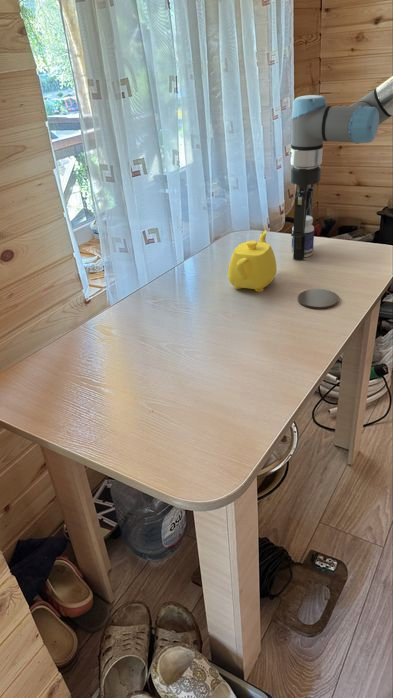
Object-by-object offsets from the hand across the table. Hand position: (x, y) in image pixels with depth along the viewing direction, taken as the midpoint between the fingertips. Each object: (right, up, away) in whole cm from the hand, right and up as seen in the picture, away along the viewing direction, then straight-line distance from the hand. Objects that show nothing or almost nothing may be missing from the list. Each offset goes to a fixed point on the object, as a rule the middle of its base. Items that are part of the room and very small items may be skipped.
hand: (301, 252), depth 139 cm
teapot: (-14, -10, -13) cm, 22 cm away
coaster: (-1, -15, -23) cm, 27 cm away
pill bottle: (0, 0, 0) cm, 1 cm away
